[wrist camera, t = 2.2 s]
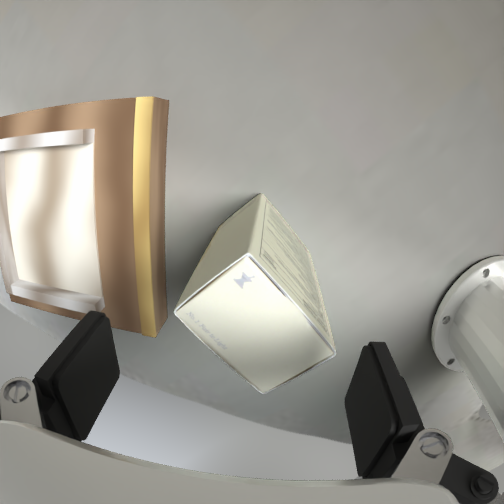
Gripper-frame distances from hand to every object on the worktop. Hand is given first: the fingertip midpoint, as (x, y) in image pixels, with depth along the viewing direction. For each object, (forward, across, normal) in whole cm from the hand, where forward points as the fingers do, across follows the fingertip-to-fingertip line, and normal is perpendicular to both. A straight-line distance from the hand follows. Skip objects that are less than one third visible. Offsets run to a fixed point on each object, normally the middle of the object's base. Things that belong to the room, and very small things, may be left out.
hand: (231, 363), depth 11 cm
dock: (+15, +16, -1) cm, 21 cm away
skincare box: (+14, -1, 0) cm, 14 cm away
